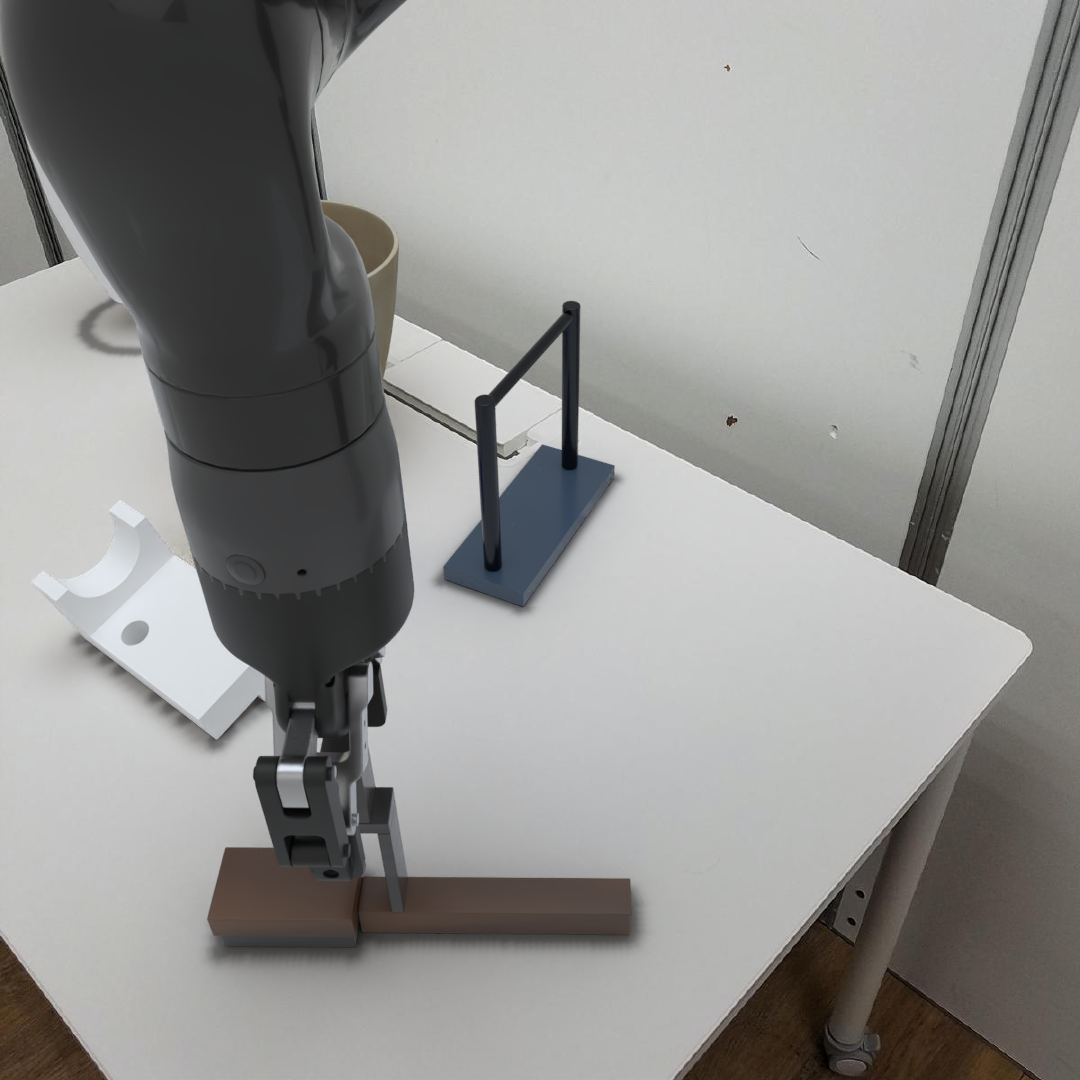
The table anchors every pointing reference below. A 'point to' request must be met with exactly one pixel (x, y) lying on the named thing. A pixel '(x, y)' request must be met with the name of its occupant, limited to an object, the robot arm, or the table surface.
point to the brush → (398, 894)
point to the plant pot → (373, 261)
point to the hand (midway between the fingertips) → (352, 790)
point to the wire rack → (530, 486)
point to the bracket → (156, 624)
